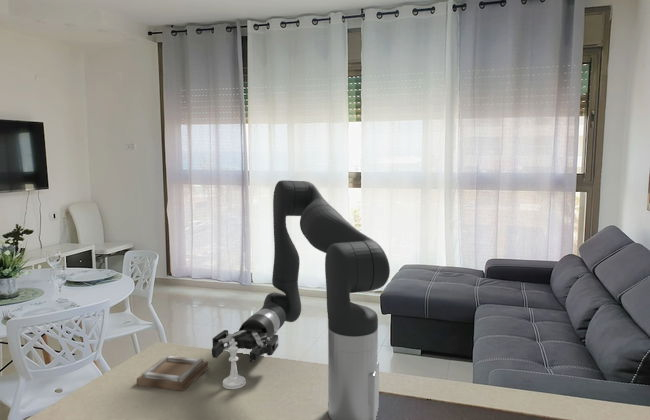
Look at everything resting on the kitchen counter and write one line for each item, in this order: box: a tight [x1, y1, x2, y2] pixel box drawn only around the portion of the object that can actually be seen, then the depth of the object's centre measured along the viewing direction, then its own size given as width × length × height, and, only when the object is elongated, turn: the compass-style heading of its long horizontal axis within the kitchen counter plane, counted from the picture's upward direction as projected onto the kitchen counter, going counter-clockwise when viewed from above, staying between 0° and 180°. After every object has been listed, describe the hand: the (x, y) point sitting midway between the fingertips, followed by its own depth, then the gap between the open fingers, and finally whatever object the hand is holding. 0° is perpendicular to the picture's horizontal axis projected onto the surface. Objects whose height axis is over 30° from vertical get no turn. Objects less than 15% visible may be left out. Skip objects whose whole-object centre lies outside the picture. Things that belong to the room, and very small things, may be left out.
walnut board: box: [136, 355, 209, 392], centre depth 107 cm, size 11×11×2 cm
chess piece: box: [222, 339, 247, 390], centre depth 103 cm, size 5×5×10 cm
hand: (232, 355), depth 102 cm, fingers open, 8 cm apart
